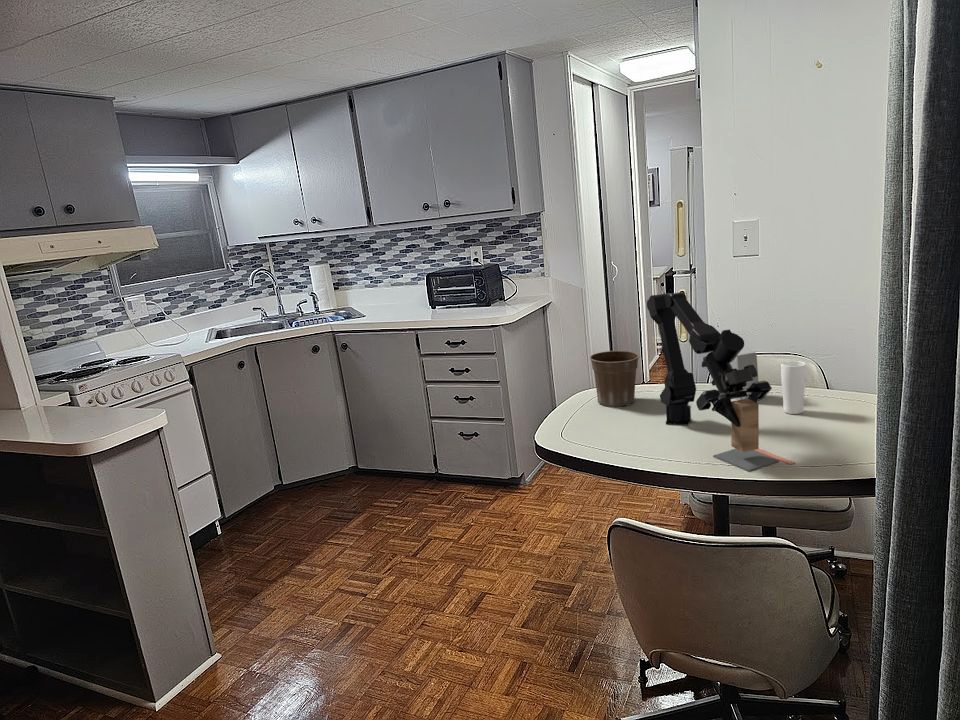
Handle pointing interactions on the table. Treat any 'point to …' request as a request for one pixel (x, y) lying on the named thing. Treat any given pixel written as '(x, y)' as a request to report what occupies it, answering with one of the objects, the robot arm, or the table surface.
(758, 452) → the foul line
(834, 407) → the table surface
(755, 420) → the walnut block
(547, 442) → the table surface
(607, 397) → the plant pot
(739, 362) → the skincare box
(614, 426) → the table surface
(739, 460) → the mat
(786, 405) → the drinking glass
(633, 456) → the table surface
